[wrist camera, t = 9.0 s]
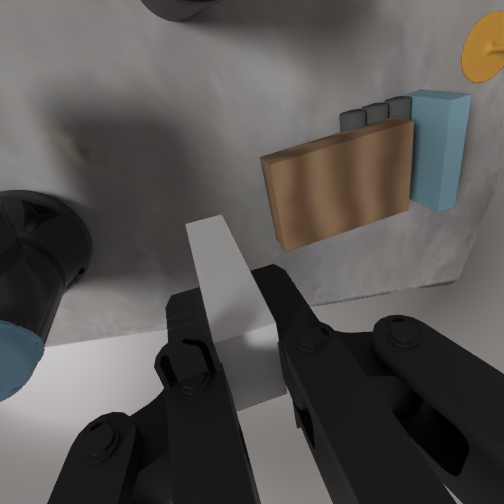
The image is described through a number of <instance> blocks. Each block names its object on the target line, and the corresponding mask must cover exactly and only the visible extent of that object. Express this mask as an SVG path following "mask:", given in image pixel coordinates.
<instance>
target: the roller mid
mask: <svg viewBox="0 0 504 504" xmlns="http://www.w3.org/2000/svg"><path fill="white" fill-rule="evenodd" d="M362 109H364V110H366V125H368V124H372V123H375V122H378V121H382V120H385V119H388V103H374V104H371V105H367V106H364V107H362Z"/></svg>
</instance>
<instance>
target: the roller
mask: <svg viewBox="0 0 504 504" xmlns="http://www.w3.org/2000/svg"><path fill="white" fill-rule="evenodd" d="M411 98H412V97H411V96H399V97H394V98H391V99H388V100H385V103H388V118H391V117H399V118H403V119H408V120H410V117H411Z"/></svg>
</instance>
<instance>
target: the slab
mask: <svg viewBox="0 0 504 504" xmlns="http://www.w3.org/2000/svg"><path fill="white" fill-rule="evenodd" d="M413 131H414V121H413V120H408V119H403V118H399V117H391V118H388V119H385V120H382V121H378V122H375V123H372V124H368V125H365V126H362V127H358V128H355V129H352V130H348V131H345V132H342V133H338V134H335V135H332V136H328V137H325V138H322V139H319V140H315V141H312V142H309V143H305V144H302V145H299V146H295V147H292V148H289V149H285V150H282V151H279V152H275V153H272V154H269V155H265V156H262V157H260V160H261V165H262V170H263V175H264V180H265V185H266V190H267V195H268V200H269V205H270V210H271V215H272V220H273V225H274V230H275V235H276V240H277V241H278V242H279V244H280V245H281V246H282V248H283V249H284V251H285V252H287V251H290V250H293V249H296V248H299V247H302V246H305V245H308V244H311V243H314V242H317V241H320V240H322V239H325V238H328V237H331V236H334V235H337V234H340V233H343V232H346V231H349V230H352V229H355V228H357V227H360V226H363V225H366V224H369V223H372V222H375V221H378V220H381V219H384V218H387V217H390V216H392V215H395V214H398V213H401V212H404V211H407V210H409V196H410V180H411V163H412V147H413Z"/></svg>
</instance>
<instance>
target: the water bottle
mask: <svg viewBox="0 0 504 504" xmlns="http://www.w3.org/2000/svg"><path fill="white" fill-rule="evenodd" d="M141 1H142V2H143V4H144V5H145V6H146V7H147V8H148V9H149V10H150V11H151V12H153V13H154V14H155V15H157V16H159V17H161V18H163V19H166V20H170V21H183V20H186V19H189V18H191V17H192V16H194V15H195V14H197V13H198V12H199V11H201V10H202V9H204V8H205V7H206V6H208V5H211V4H215V3H218V2H221V1H223V0H141Z"/></svg>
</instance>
